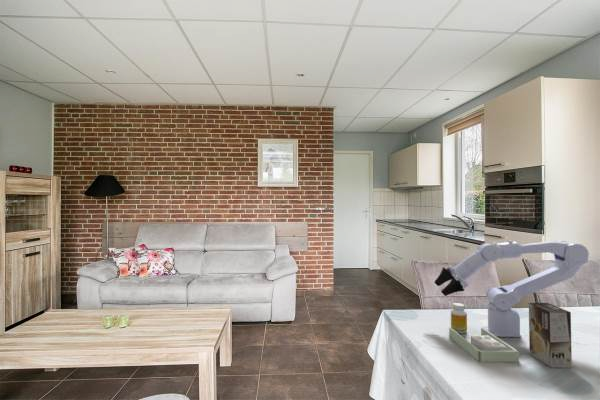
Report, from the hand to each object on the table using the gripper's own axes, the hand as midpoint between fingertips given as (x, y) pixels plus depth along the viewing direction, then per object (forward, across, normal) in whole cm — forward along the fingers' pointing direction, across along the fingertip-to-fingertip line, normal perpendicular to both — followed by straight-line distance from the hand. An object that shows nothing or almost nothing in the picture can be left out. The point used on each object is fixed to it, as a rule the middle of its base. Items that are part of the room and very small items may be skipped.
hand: (439, 288), depth 119 cm
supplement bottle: (+5, +7, +14) cm, 16 cm away
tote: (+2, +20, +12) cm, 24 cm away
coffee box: (-11, +27, +23) cm, 37 cm away
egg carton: (+1, +24, +12) cm, 27 cm away
